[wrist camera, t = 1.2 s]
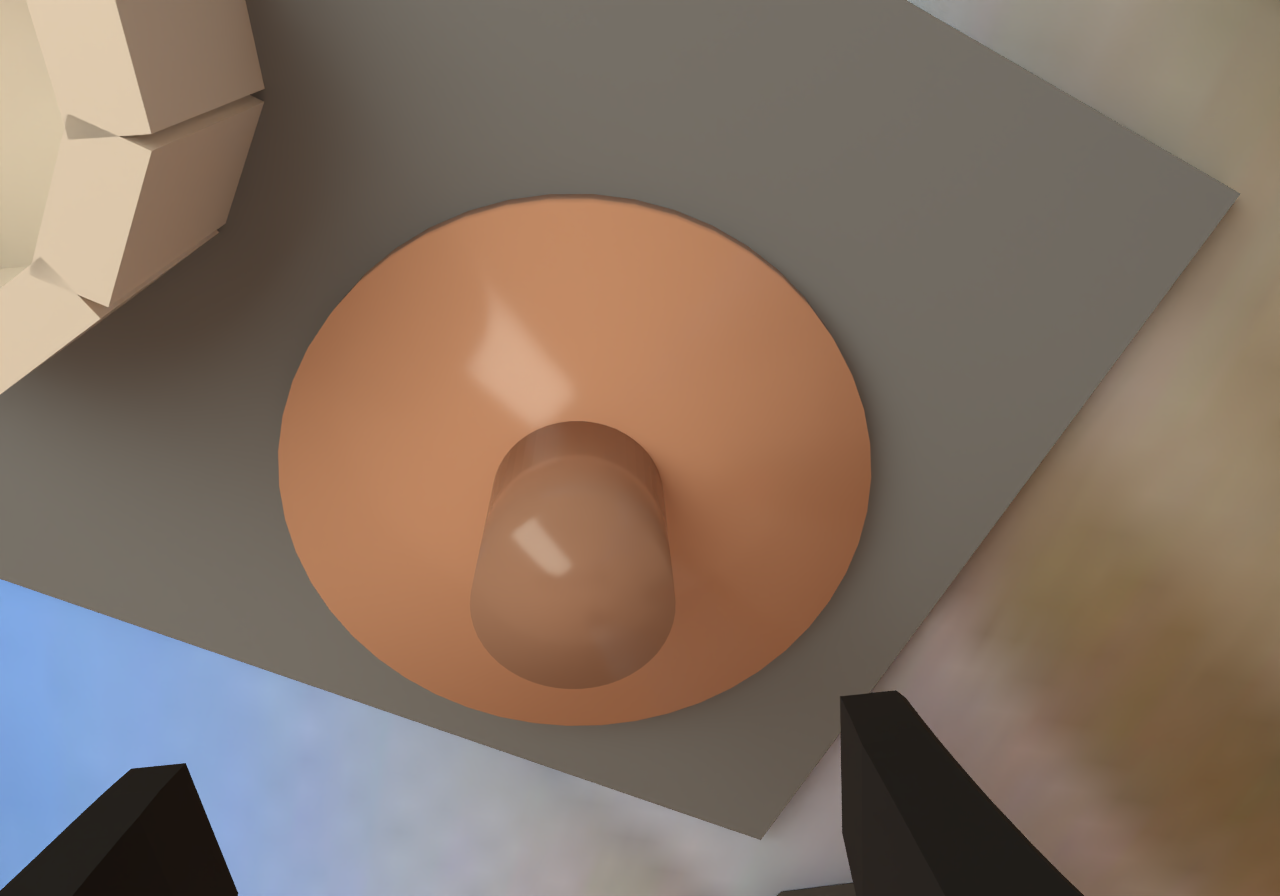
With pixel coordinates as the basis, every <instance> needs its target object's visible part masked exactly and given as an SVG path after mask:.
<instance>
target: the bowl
mask: <svg viewBox="0 0 1280 896" xmlns="http://www.w3.org/2000/svg"><path fill="white" fill-rule="evenodd" d="M263 89H265V88H264V83H263V79H262V74H261V70H260V65H259V60H258V56H257V51H256V47H255V42H254V38H253V33H252V28H251V24H250V19H249V15H248V10H247V6H246V1H245V0H0V395H1V394H2V393H3V392H5V391H6V390H7V389H9V388H10V387H11V386H13V385H14V384H16V383H17V382H18V381H20V380H21V379H22V378H24V377H25V376H26V375H28V374H29V373H31V372H32V371H33V370H35V369H36V368H37V367H39V366H40V365H42V364H43V363H44V362H46V361H47V360H48V359H50V358H51V357H52V356H54V355H55V354H57V353H58V352H59V351H61V350H62V349H63V348H65V347H66V346H67V345H69V344H70V343H72V342H73V341H74V340H76V339H77V338H78V337H80V336H81V335H82V334H84V333H85V332H87V331H88V330H89V329H91V328H92V327H93V326H95V325H96V324H98V323H99V322H100V321H102V320H103V319H104V318H106V317H107V316H108V315H110V314H111V313H113V312H114V311H115V310H117V309H118V308H119V307H121V306H122V305H123V304H125V303H126V302H128V301H129V300H130V299H132V298H133V297H134V296H136V295H137V294H138V293H140V292H141V291H142V290H143V289H145V288H146V287H147V286H149V285H150V284H151V283H153V282H154V281H155V280H157V279H158V278H159V277H161V276H162V275H163V274H165V273H166V272H167V271H169V270H170V269H171V268H173V267H174V266H175V265H177V264H178V263H179V262H181V261H182V260H183V259H185V258H186V257H187V256H189V255H190V254H191V253H193V252H194V251H195V250H197V249H198V248H199V247H201V246H202V245H203V244H205V243H206V242H207V241H209V240H210V239H211V238H213V237H214V236H215V235H217V234H218V233H219V232H218V231H217V229H219V228H220V227H221V226H223V225H224V224H226V220H227V217H228V214H229V211H230V208H231V205H232V202H233V198H234V195H235V192H236V189H237V186H238V183H239V179H240V176H241V173H242V170H243V167H244V164H245V161H246V157H247V154H248V151H249V148H250V145H251V142H252V139H253V135H254V132H255V129H256V126H257V123H258V120H259V117H260V113H261V110H262V107H263V104H264V101H262V100H259V99H257V98H255V97H253V96H251V95H250V94H253V93H255V92H258V91H260V90H263Z"/></svg>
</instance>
